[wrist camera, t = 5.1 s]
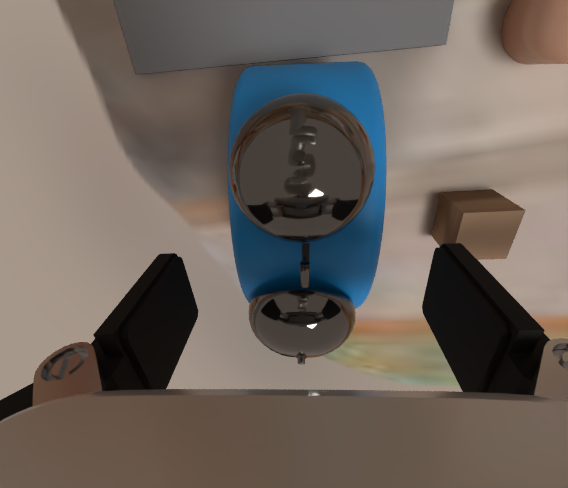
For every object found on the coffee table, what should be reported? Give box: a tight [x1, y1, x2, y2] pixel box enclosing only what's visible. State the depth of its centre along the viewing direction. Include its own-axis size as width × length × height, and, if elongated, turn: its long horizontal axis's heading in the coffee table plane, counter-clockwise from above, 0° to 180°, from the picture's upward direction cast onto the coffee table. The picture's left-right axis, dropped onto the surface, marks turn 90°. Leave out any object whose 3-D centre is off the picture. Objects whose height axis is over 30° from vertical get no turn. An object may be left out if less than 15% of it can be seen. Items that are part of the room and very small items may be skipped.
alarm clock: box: [228, 61, 386, 364], centre depth 16 cm, size 13×6×15 cm, turn 2°
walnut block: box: [431, 190, 525, 259], centre depth 22 cm, size 4×4×4 cm
